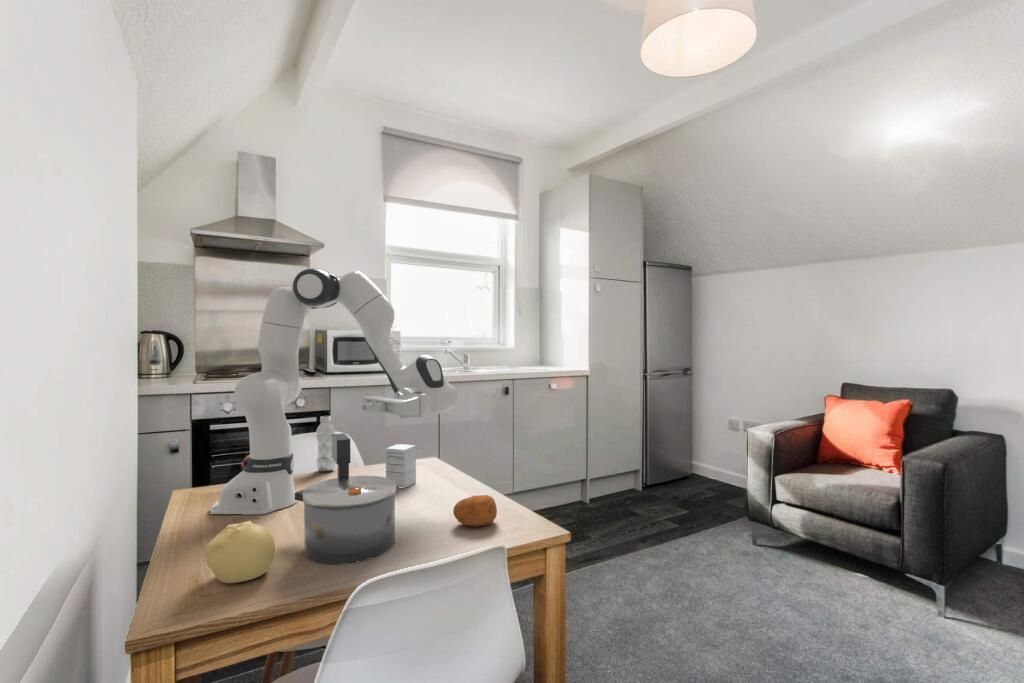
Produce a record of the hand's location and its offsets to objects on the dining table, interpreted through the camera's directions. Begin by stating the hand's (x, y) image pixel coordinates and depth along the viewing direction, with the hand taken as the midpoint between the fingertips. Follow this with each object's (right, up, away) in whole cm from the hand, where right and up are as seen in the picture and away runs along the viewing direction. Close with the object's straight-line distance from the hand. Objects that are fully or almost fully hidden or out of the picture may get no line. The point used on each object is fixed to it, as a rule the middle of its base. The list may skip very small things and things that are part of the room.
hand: (364, 407), depth 133 cm
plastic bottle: (-29, -30, +49) cm, 64 cm away
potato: (+30, -30, -5) cm, 43 cm away
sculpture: (-15, -30, -32) cm, 46 cm away
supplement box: (+3, -30, +31) cm, 43 cm away
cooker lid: (0, -18, -14) cm, 22 cm away
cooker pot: (-1, -30, -15) cm, 34 cm away
